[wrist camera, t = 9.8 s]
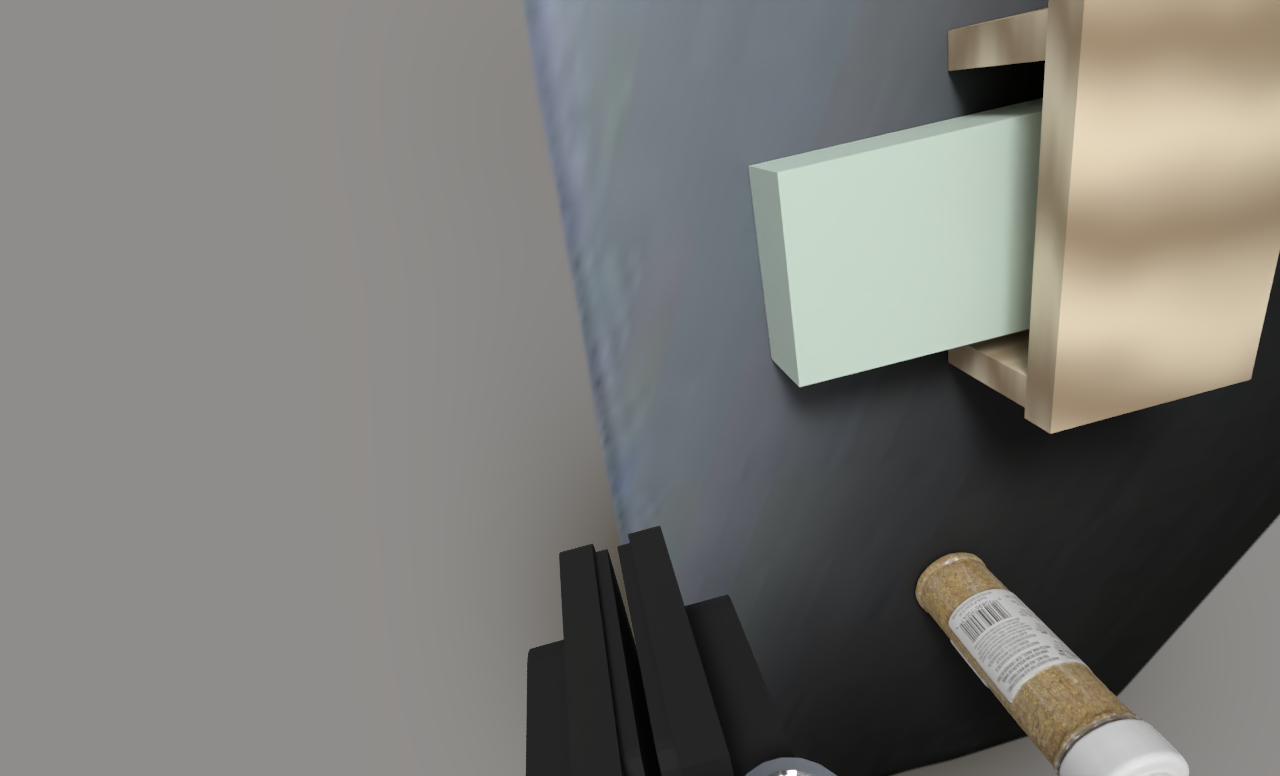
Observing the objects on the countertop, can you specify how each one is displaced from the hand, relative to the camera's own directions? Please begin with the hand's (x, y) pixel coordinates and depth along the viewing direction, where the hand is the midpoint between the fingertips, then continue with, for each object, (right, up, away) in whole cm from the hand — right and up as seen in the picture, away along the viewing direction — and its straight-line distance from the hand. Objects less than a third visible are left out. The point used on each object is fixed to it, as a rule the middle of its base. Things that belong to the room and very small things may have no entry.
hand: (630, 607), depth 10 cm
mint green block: (+13, +11, +19) cm, 25 cm away
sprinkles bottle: (+19, -8, +28) cm, 34 cm away
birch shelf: (+19, +13, +19) cm, 29 cm away
